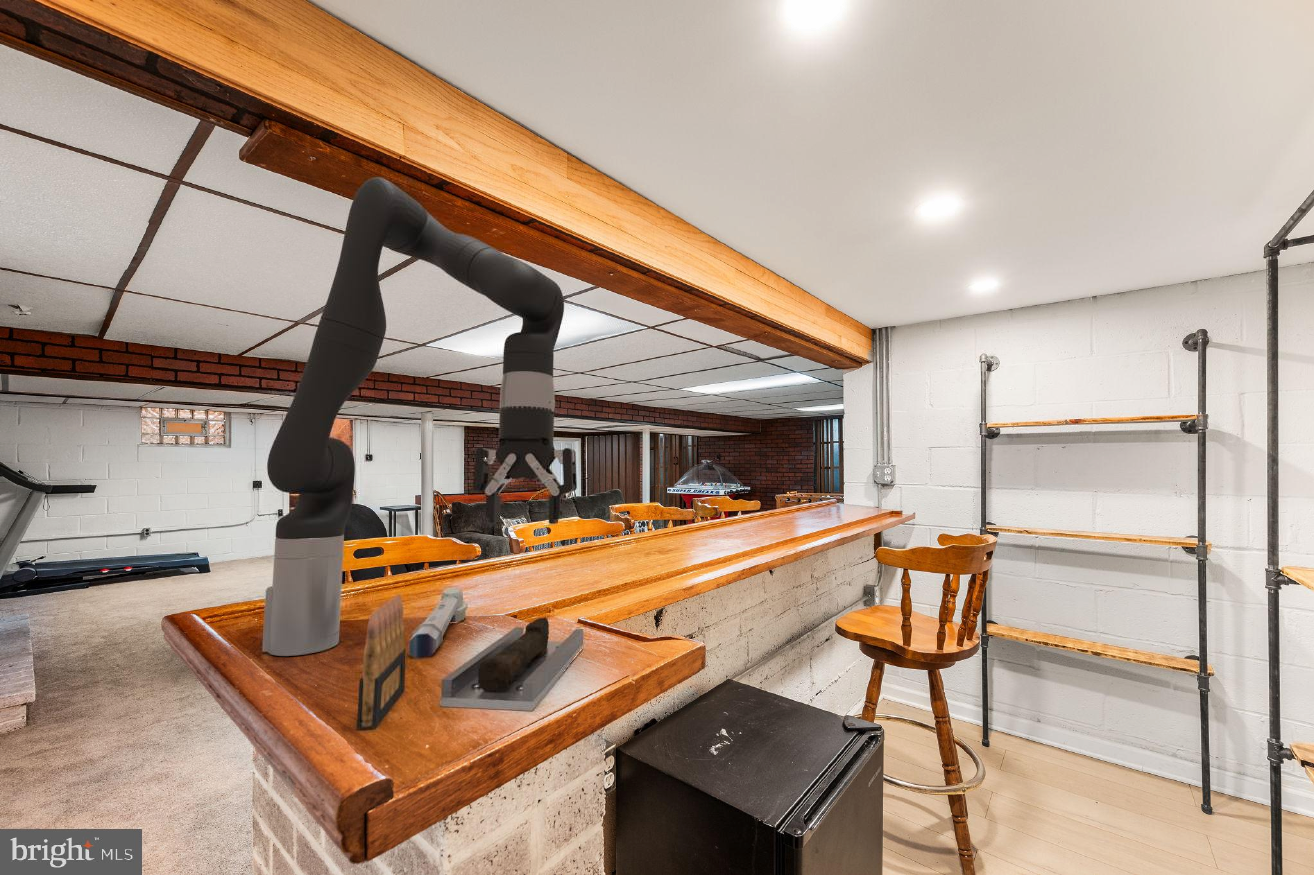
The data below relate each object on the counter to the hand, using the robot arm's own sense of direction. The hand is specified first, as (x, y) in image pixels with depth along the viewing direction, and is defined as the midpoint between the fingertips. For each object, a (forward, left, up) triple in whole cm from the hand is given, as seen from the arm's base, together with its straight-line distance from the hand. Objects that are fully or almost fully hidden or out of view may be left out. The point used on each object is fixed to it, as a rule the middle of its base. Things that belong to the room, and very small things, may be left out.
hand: (524, 522), depth 75 cm
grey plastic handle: (-20, +16, -21) cm, 33 cm away
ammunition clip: (-11, -13, -20) cm, 27 cm away
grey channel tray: (0, 0, -20) cm, 20 cm away
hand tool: (0, 0, -19) cm, 19 cm away
